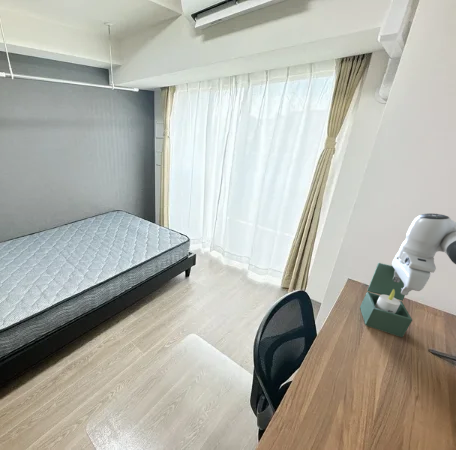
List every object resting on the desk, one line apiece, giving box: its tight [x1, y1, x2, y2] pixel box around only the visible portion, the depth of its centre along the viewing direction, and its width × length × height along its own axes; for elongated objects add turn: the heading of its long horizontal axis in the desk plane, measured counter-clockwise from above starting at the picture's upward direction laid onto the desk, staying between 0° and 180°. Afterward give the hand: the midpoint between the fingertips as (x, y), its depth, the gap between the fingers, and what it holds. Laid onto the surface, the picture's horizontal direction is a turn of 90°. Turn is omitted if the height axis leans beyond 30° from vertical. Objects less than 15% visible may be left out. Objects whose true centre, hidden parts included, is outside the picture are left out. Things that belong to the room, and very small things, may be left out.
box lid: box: [366, 262, 406, 302], centre depth 103 cm, size 14×12×5 cm
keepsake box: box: [359, 291, 413, 338], centre depth 100 cm, size 13×12×9 cm
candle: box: [375, 289, 401, 314], centre depth 99 cm, size 6×6×15 cm
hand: (399, 287), depth 94 cm, fingers open, 8 cm apart
